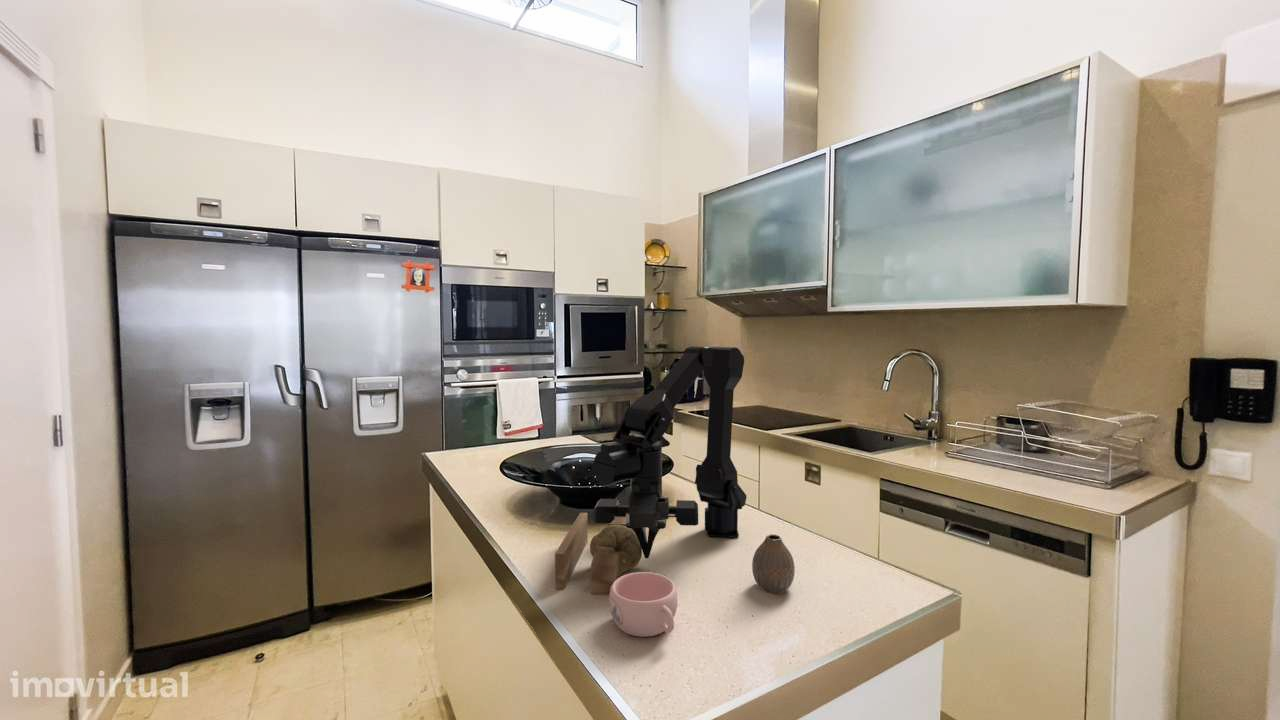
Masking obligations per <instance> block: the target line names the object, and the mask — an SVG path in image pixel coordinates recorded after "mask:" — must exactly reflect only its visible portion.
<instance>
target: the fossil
mask: <svg viewBox="0 0 1280 720" xmlns="http://www.w3.org/2000/svg"><path fill="white" fill-rule="evenodd" d="M589 549H590V554H591V556H592V557H593V558H594V556H595V554H615V555H619V576H620V575H622V574H623V573H624V572H625V571H629V570H632V569H634V568H635V567H638V564H639V563H640V562H641V559H642V555H643V551H642V548H641V546H640V543H639V540H638V538H637V536H636V534H635V532H634V531H633V530H632V529H631V528H627V527H625V526H622V525H610V526H608V525H606V526H605V527H604V528H603V529H601V531H599V533H597V534H596V535H594V536H593V537H592V538H591V540H590V543H589Z"/></svg>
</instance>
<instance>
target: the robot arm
mask: <svg viewBox="0 0 1280 720" xmlns="http://www.w3.org/2000/svg"><path fill="white" fill-rule="evenodd" d="M744 365H745V355H744V354H743V353H742V352H741V350H740V349H739V348H738V347H734V346H731V347H730V346H728V347H727V346H710V347H708V346H698V345H697V346H696V345H692V346H689V347H686V348H685V349H684V350H683V354H682V356H681V357H680V358H679V360H677V362H676V363H675V364H674V365H673V366H672V368H671V369H670V370H669V372H667V374H666V375H665V376H664V377H663V378H662V380H661V381H660V382H659V383H658V384H657V386H655V388H654V389H653V390H652V391H650V392H648V393H647V394H645V395H642V396H640V397H638V398H637V399H636V400H635V401H634V402H633V403H631V404H630V405H629V406H628V407H627V409H626V410H625V412H624V414H623V415H624V417H623V419H622V421H621V423H620V425H619V426H618V428H617V431H616V433H615V434H614V436H613V439H612V442H611V443H608V442H607V443H601V445H600V450H599V452H597V453H596V455H595V456H594V459H593V462H592V469H593V470H592V471H593V474H594V477H595V479H596V481H598V483H600V484H601V485H602V486H609V485H614V484H617V483H620V482H624V481H625V482H626V481H627V480H630V494H629V497H628V504H627V505H626V504H620V500H619V499H618V498H600V499H599V500H598V501H597V502H596V505H595V506H594V508H593V515H592V516H593V523H595V524H608V523H609V524H610V523H611V522H612V521H613V520H614V519H615V517H626V519H627V522H626V527H627V528H631V529H632V530H633V531H634V532H635V534H636V536H637V538H638V540H639V543H640V546H641V548H642V555H643V556H644V559H649V558H650V554H651V551H652V548H653V544H654V542H655V540H656V537H657V535H658V533H659V531H660V530H664V529H667V527H666V526H667V520H669V518H675V521H676V522H677V523H678V524H679V526H694V527H695V526H698V525H699V504H698V503H697V502H696V500H683V499H681V500H680V499H677V500H676V505H675V506H674V505H670V503H669V502H670V501H669V500H670V499H669V497H663V470H662V469H663V458H662V455H663V452H662V451H663V450H662V449H663V448H665V447H669V446H670V444H671V443H670V441H669V440H668V439H666V438H665V437H664V435H665V434H666V432H667V430H668V429H669V426H670V425H671V423H672V422H673V420H674V409H675V408H676V406H677V404H678V403H679V401H680V400H681V399H682V398H683V396H684V395H685V394H686V392H687V391H688V390H689V388H690V387H692V385H693V383H694V382H695V381H696V379H698V378H699V376H700V374H703V378H704V379H705V382H706V384H707V385H708V388H709V399H708V401H709V402H708V420H707V421H708V422H707V436H706V437H707V441H706V442H707V443H706V455H705V458H704V460H703V461H702V463H701V464H697V465H696V467H695V479H694V480H695V481H694V484H695V485H696V491H697V492H698V497H699V500H700V501H699V502H702V503H703V502H704V503H707V507H705V508H704V531H706V534H707V537H717V538H718V537H719V538H739V536H740V535H739V530H738V526H739V525H738V523H739V522H738V521H739V520H738V519H739V516H738V515H739V511H738V510H742V509H743V508H744V506H745V505H746V502H747V494H746V493H745V491H744V490H743V489H742V487H741V486H740V485H739V483H738V482H739V480H738V471H737V468H736V466H735V464H734V463H733V461H732V458H731V451H732V429H733V411H734V410H733V409H734V390H735V389H736V387H737V385H738V384H739V383H740V381H741V380H742V377H743V372H744V367H745V366H744ZM646 528H648V533H647V529H646ZM647 535H648V536H647Z"/></svg>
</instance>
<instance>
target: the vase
mask: <svg viewBox="0 0 1280 720" xmlns="http://www.w3.org/2000/svg"><path fill="white" fill-rule="evenodd" d="M795 566H796V565H795V561H794V557H793V555H792V553H791V551H790V550H789V548H787V546H786V545H785V543H784V541H783V538H782V537H781V536H780V535H779V534H767V535H766V537H765V538H764V540H763V542H762V543H761V544H760V545H759V546H758V548H756V550H755V552H754V555H753V557H752V563H751V567H752V568H751V569H752V575H753V579H754V581H755V583H756V584H757V586H758V587H759V588H760V589H761V590H762V591H763V592H765V593H769V594H772V595H775V594H776V595H778V594H783V593H785V592H786V591H787V590H788V589H789V588H790V587H792V584H793V581H794V578H795V572H796V570H795V569H796V567H795Z"/></svg>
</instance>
